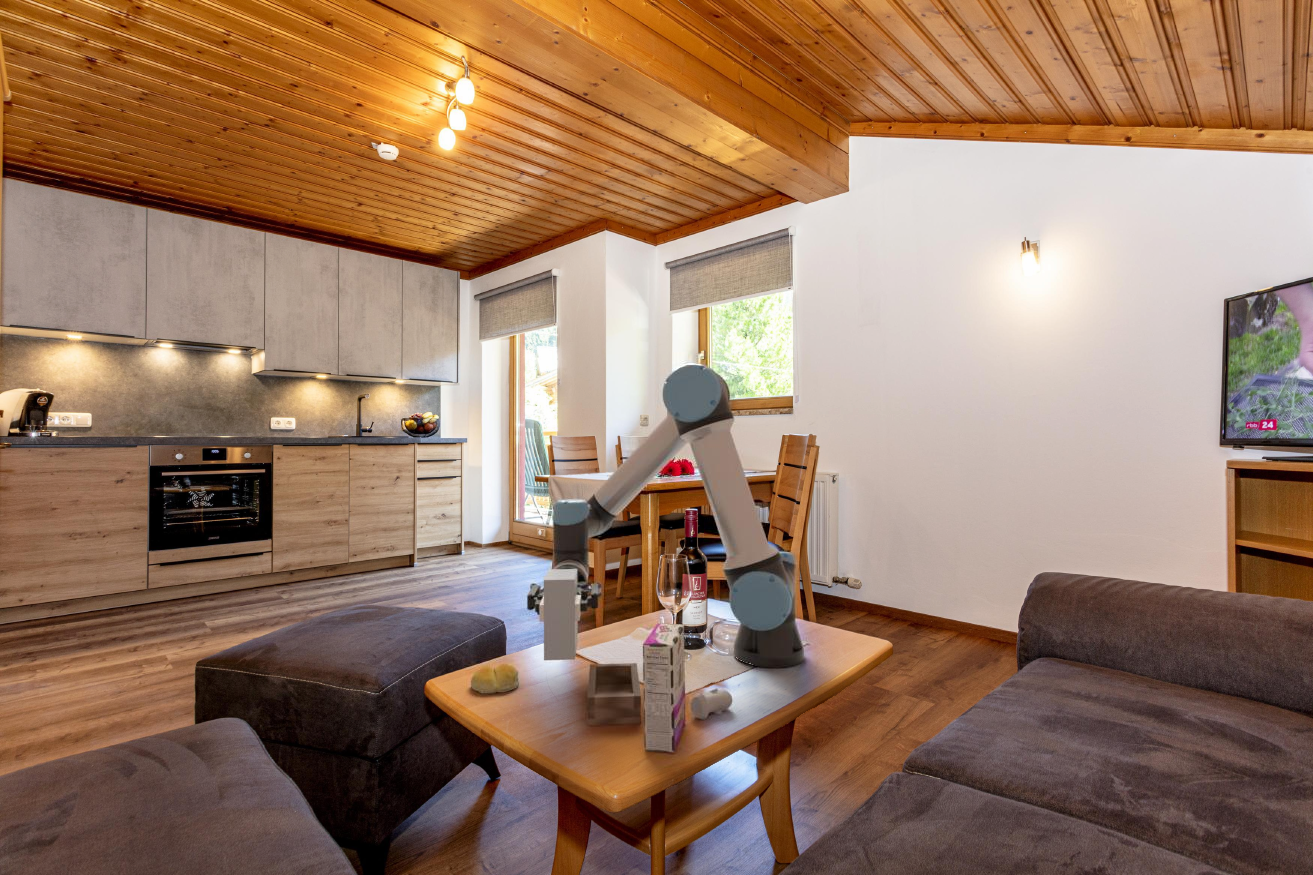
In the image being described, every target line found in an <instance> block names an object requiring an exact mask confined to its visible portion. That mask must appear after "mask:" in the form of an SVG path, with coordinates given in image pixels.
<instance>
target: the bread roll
mask: <svg viewBox="0 0 1313 875" xmlns="http://www.w3.org/2000/svg"><path fill="white" fill-rule="evenodd" d="M519 684H520V683H519V670H517V668H516V667H515V666H513V665H511V664H508V663H503V664H500V665H497V666H496V667H493V666H489V665H487V666H483V667H480V668H478V669H477V670H476V671H475V672H474V673H473V674H472V676H471V679H470V686H471V688H472V690H473V689H474V690H473V691H475V690H476V691H475V692H477V691H479V692H478V693H480V692H483V693H482V694H495V693H497V691H498V693H505V692H510V691H512V690H515V689H516V688H517V687H518V686H519Z"/></svg>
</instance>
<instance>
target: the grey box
mask: <svg viewBox="0 0 1313 875" xmlns="http://www.w3.org/2000/svg"><path fill="white" fill-rule="evenodd" d="M543 587H544V622H543V661H568V660H576V655H577V648H578V644H579V643H578V633H579V632H578V629H579V628H578V623H579V621H575V601H576V596H577V569H553V568H552V569H551V568H550V569H548V570H547V573H546V574H545V577H544V578H543Z"/></svg>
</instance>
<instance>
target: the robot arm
mask: <svg viewBox="0 0 1313 875" xmlns="http://www.w3.org/2000/svg"><path fill="white" fill-rule="evenodd" d="M730 393H731V392H730V388H729V386H728V384H727V381H726V380H725V379H724V378H723V376H722V375H720V374H718V373H717V372H715V370H714V369H713V368H711V367H709V366H707V365H705V364H701V363H686V364H683V365H680V366H678V367H677V368H674V369H673V370H672V371H671V372H670V374H668V376H667V378H666V380H665V381H664V383H663V387H662V400H663V404H664V407H665V409H666V414H667V415H666V416H665V418H664V419H663V420H662V421H661V422H660V423H659V424H658V425H657V426H656V427H655V428H654V430H653V431H652V432H651V433H650V434H648V436H647V437H646V438H645V439H644V440H643V441H642V442H641V443H640V444H639V445H638V446H637V447H636V449H635V450H634V451H632V453H631V454H630V455H629V456H628V457H627V458H626V459H625V460H624V462H622V463H621V464H620V466H619V467H617V469H616V470H615V471H614V472H613V473H612V474H611V475H610V476H609V477H608V479H606V480H605V482H604V483H602V485H601V486H600V487H599V488H598V489H597V490H596V491H595V492H594V493H593V494H592V496H591V497H590V498H589V499H587V500H586V499H580V498H579V499H578V498H577V499H576V498H575V499H574V498H572V499H569V498H568V499H566V498H565V499H558V500H556V501H555V502H554V504H553V513H552V525H553V526H552V528H553V537H552V538H553V539H552V540H553V552H552V554H553V555H552V557H553V560H552V561H553V562H552V563H553V565H552V566H553V567H552V569H577V596H576V601H575V621H577V622H580V619H581V613H582V612H587V611H588V609H589V607H591V609H598V608H599V599H600V598H601V597H602V582H600V581H597V582H595V583H591V584H590V585H589V583H588V579H589V576H590V563H589V544H590V543H589V539H590V538H593V537H596V536H599V535H603V534H604V533H605V532H606V531H608V530H609V529H610V528H611V526H612V524H613V521H614V520H615V519H616V518H617V517H618V515H619V514H620V513H621V512H622V511H623V510H624V509H625V508H626V507H627V506H628V505H630V503H631V502H632V501H633V500H634V499H635V498H636V496H638V495H639V494H640V493H641V491H643V490H644V489H645V488H646V486H648V484H650V483H651V481H652V480H653V479H654V478H655V477H657V475H658V474H659V473H660V472H661V471H663V469H664V467H666V466H667V465H668V464H669V462H671V461H672V459H673V458H675V456H676V455H677V454H678V453H679V452H680V451H681V450H682V449H683V448H684V447H685V446H686V445H687V444H688V445H690V449H691V451H692V454H693V457H694V460H695V463H696V466H697V469H698V472H699V475H700V478H701V481H702V484H703V487H704V490H705V494H706V496H707V501H708V503H709V506H710V509H711V511H712V515H713V518H714V522H715V524H716V527H717V531H718V534H719V537H720V539H721V543H722V545H723V549H724V551H725V555H726V559H725V562H724V563H723V565H722V570H723V573H724V576H725V579H726V581H727V586H728V588H729V594H728V595H729V598H728V600H729V605H730V609H731V612H732V613H733V616H734V617H735V619H736V620H737V621H738V622H739V623H740V625H739V627H738V631H737V632H736V633H737V634H736V636H735V640H734V643H733V656H734V655H735V656H734V658H735V657H737V658H738V659H739V660H742V661H744V662H747V663H751V664H753V665H752V666H754V665H756V666H755V667H760V668H771V669H772V668H774V669H775V668H789V667H794V666H796V665H799V664H801V663H803V661H804V659H805V647H804V645H803V641H802V638H801V635H800V632H799V629H798V626H797V622H796V621H797V620H796V568H797V564H796V558H795V557H796V556H795V555H794V554H793V553H792V552H789V551H779V549H777V547H774V546H772V545H770V544H769V543H768V539H767V537H766V533H765V530H764V528H763V527H764V526H763V524H762V522H761V519H760V516H759V512H758V510H757V506H756V504H755V501H754V498H753V495H752V492H751V488H750V486H749V482H748V480H747V476H746V474H745V471H744V468H743V465H742V462H741V460H740V459H741V458H740V457H739V456H740V455H739V453H738V450H737V446H736V445H735V441H734V438H733V435H732V433H731V432H732V431H731V430H732V429H731V428H732V426H733V424H734V422H735V417H734V414H733V412H732V409H731V406H730V399H731V394H730ZM589 594H590V596H589ZM526 596H527V598H526V606H527V611H532V610H534V612H535V613H537V615H538V616H539V617H538V618H539V623H544V586H542V585H541V584H536V583H531V584H530V590H529V591H528V593H527V594H526ZM738 659H737V660H738ZM739 660H738V661H739Z"/></svg>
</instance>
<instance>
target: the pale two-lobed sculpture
mask: <svg viewBox="0 0 1313 875" xmlns="http://www.w3.org/2000/svg"><path fill="white" fill-rule="evenodd" d="M732 703H733V696H732V694H731V693H730V692H729V691H727V690H726V689H721V688H720V689H718V688H714V689H711V690H709V691H706V692H705V693H704V694H703V693H701V692H696V693H695V694H694V696H693V698H692V699H691V701H690V706H689V709H690V711H691V712H692V713H691V714H693V716H695V717H696V718H698V719H699V720H706V719H707V717H708V716H709V714H710V713H714V714H716V715H718V714H720V715H721V714H722V713H723V711H726V710H728V709H729V708H731V706H732V705H733V704H732Z"/></svg>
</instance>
